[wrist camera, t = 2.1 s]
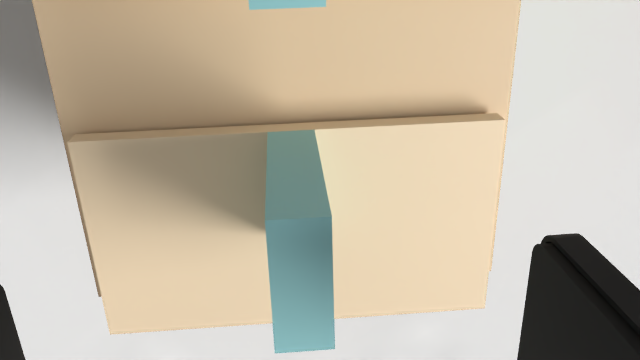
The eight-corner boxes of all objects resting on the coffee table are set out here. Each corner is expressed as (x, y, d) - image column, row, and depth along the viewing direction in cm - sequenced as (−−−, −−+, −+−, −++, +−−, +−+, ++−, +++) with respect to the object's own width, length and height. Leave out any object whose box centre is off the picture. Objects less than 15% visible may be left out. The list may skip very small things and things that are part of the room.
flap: (497, 113, 15) (602, 200, 10) (478, 296, 18) (556, 437, 13) (74, 134, 15) (-26, 237, 10) (115, 321, 17) (51, 479, 12)
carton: (421, -211, 23) (766, -534, 7) (408, 139, 29) (574, 402, 13) (111, -206, 22) (-312, -552, 6) (165, 152, 28) (22, 446, 12)
